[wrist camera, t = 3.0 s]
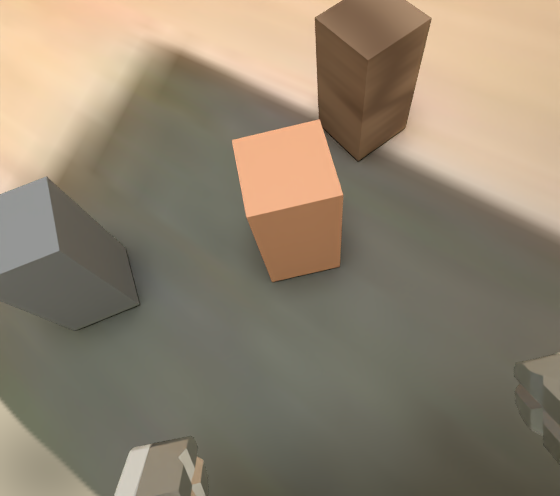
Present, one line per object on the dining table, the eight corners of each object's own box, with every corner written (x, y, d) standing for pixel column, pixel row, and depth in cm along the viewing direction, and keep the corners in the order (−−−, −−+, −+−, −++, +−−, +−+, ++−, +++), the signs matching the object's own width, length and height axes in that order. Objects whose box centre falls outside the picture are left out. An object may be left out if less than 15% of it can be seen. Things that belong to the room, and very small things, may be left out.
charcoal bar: (125, 247, 30) (46, 176, 21) (139, 304, 28) (59, 250, 20) (64, 271, 29) (-39, 209, 21) (74, 330, 28) (-34, 287, 19)
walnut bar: (364, 93, 33) (375, -21, 25) (405, 127, 31) (431, 18, 23) (319, 123, 32) (314, 17, 24) (358, 161, 30) (368, 60, 22)
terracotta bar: (323, 207, 29) (319, 119, 21) (339, 266, 27) (343, 194, 19) (259, 222, 29) (231, 140, 21) (272, 282, 27) (246, 217, 19)
